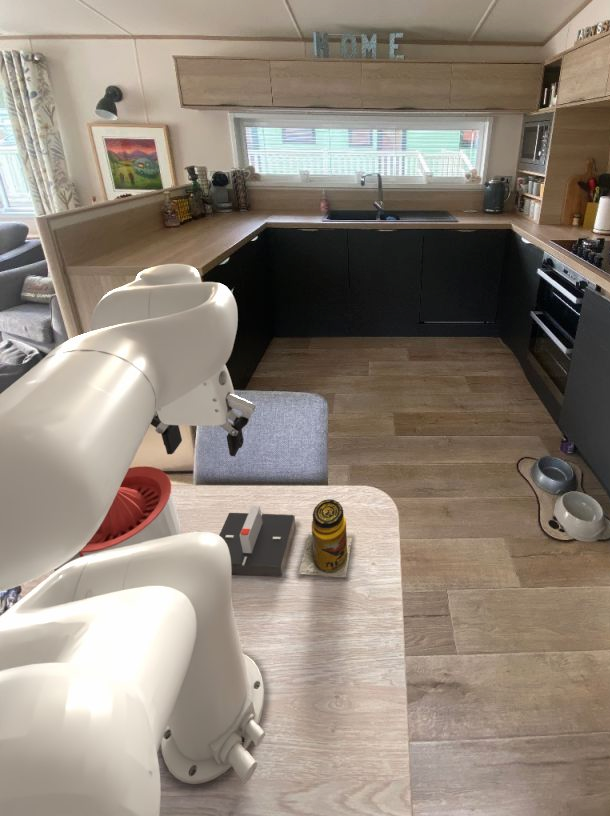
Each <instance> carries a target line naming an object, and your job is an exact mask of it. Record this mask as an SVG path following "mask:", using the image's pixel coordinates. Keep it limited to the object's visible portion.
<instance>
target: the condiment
mask: <svg viewBox="0 0 610 816" xmlns="http://www.w3.org/2000/svg"><path fill="white" fill-rule="evenodd" d="M352 541H353V538H352V537H347V519H346V517H345V515H344V508H343V505H342V504H341V503H340V502H339V501H338V500H335V499H333V498H332V499H329V498H327V499H323V500H321V501H320V502H319V503H318V504H316V505H315V506H314V509H313V510H312V521H311V534H308V536H307V540H306V544H305V548H304V551H303V556H302V560H301V563H300V567H299V571H298V575H311V576H321V577H330V578H331V577H334V578H347V574H348V568H349V560H350V554H351V547H352Z"/></svg>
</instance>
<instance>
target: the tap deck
mask: <svg viewBox="0 0 610 816" xmlns="http://www.w3.org/2000/svg"><path fill="white" fill-rule="evenodd" d="M248 514H249V512H247V513H246V512H229V513H228V514H227V517H226V519H225V521H224V523H223V526H222V527H221V530H220V532H219V534H218V535H219V536H220V537H222V538H223V539H224V541H225V542H226V544H227V546H228V549H229V553H230V557H231V570H232V572H231V576H240V577H241V576H243V577H244V576H246V577H265V578H266V577H268V578H270V577H272V578H282V577H283V575H284V572H285V569H286V564H287V560H288V557H289V552H290V548H291V545H292V541H293V537H294V533H295V529H296V526H297V525H296V517H295V514H284V513H283V514H280V513H264V512H261V516H262V522H263V523H262V526H261V529H260V531H259V534H258V537H257V540H256V543H255V545H254V548H253V551H252V553H243V551H242V546H241V541H240V533H241V531H242V528H243V526H244V523H245V521H246V519H247V516H248Z"/></svg>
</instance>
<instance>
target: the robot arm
mask: <svg viewBox="0 0 610 816" xmlns="http://www.w3.org/2000/svg"><path fill="white" fill-rule="evenodd" d="M201 278H202V277H201V274H200V272H199V271H198V270H197V269H196V268H195V267H194V266H192V265H189V264H183V263H167V264H160V265H155V266H152V267H149V268H146V269H144V270H141V271H140V272H139V273H138V274H137V276H136V277H135V280H134V281H131V282H129V283H127V284H124V285H122V286H119V287H118V288H115V289H113V290H111V291H109V292H107V294H105V295H104V296H103V297H102V298H101V299H100V300H99V301H98V302H97V304H96V305H95V307H94V308H93V311H92V314H91V318H90V331H89V332H87V333H83V334H80V335H77V336H75V337H73V338H70V339H68V340H66V341H64V342H63V343H61V344H59V345H58V346H57V347H55V348H53V350H51V351H50V352H49V353H47V354H46V355H45V356H44V357H43V358H42V359H41V360H40V361H38V362H37V363H36V364H35V365H34V366H32V367H31V368H30V369H29V370H28V371H27V372H26V373H24V374H23V375H22V376H21V377H19V378H18V379H17V380H16V381H14V382H13V383H12V384H11V385H10V386H8V387H7V388H6V389H4V390H3V391H2V392H1V393H0V593H1V592H4V591H8V590H11V589H14V588H17V587H20V586H22V585H25V584H27V583H31V582H33V581H35V580H37V579H39V578H41V577H44V576H45V575H47V574H50V573H51V572H52V571H53V572H52V573H51V574H50V575H48V576H47V577H46V578H45V579H44V580H42V581H41V582H40V583H38V585H36V586H35V587H33V588H32V589H31V590H30V591H29V592H28V593H26V594H25V595H23V597H22V598H20V599H19V600H18V601H17V602H15V603H14V604H13V605H11V606H10V607H9V608H8V609H6V611H4V612H3V613H1V615H0V816H160V813H161V797H162V795H161V794H162V793H161V791H162V790H161V788H162V787H161V771H160V764H159V763H160V762H159V757H158V752H159V749H160V747H161V755H162V757H163V760H164V764H165V766H166V767H167V769H168V771H169V772H170V773H171V775H173V777H174V778H175V779H177V780H179V781H181V782H182V783H185V784H191V785H196V784H197V785H198V784H204V783H207V782H210V781H212V780H213V781H214V780H215V779H217V778H218V777H220V776H222V775H224V774H225V773H226V772H227V771H229V769H230V768H233V771H234V773H235V774H236V775H237V777H238V778H239V779H240V780H241V782H242V783H243V784H247V783H248V782H249V781H250V780H251V778H252V776H253V775H254V773H255V771H256V768H257V767H258V762H257V761H256V759H255V757H253V756H252V754H251V753H250V752H249V750H247V749H248V748H249V746H250V744H251V743H253V745H255V746H256V747H259V745H261V743H262V742H263V740H264V738H265V736H266V732H265V731H264V730H263V728H262V727H261V726H260V722H261V719H262V715H263V709H264V706H265V689H264V687H265V686H264V681H263V677H262V673H261V670H260V669H259V667H258V665H257V664H256V663H255V661H254V660H253V659H252V658H251V657H249V656H248V655H247V654H244V651H243V646H242V641H241V638H240V632H239V628H238V625H237V621H236V617H235V612H234V607H233V606H234V605H233V599H232V575H231V572H232V570H231V557H230V553H229V549H228V546H227V544H226V542H225V541H224V539H223V538H222V537H220V536H219V534H217V533H214V532H210V531H191V532H183V533H181V534H178V535H173V536H168V537H164V538H159V539H154V540H150V541H145V542H142V543H139V544H134V545H130V546H125V547H121V548H116V549H111V550H107V551H102V552H98V553H94V554H90V555H86V556H83V557H80V558H77V559H75V560H73V561H71V562H69V563H67V564H65V565H64V566H62V567H61V568H59V569H58V570H56V571H54V569H56V568H58V567H59V566H61V565H62V564H64V563H65V562H67V561H68V560H70V559H71V558H72V557H74V556H75V555H76V554H77V553H78V552H79V551H80V550H82V549H83V547H84V546H85V545H86V544H87V543H88V542H89V541H90V540H91V538H92V537H93V536H94V534H95V533H96V531H97V530H98V528H99V527H100V525H101V524H102V522H103V520H104V518H105V516H106V515H107V513H108V511H109V509H110V507H111V505H112V503H113V501H114V498H115V496H116V494H117V492H118V490H119V488H120V486H121V483H122V481H123V479H124V477H125V475H126V473H127V471H128V469H129V468H131V465H132V463H133V461H134V459H135V457H136V455H137V453H138V451H139V448H140V447H141V445H142V443H143V440H144V438H145V436H146V434H147V432H148V430H149V427H150V425H151V426H152V427H154V428H155V432H156V433H157V434H161V438H162V442H163V445H164V447H165V451H166V454H167V455H173V454H174V453H175V452H176V450H177V449H178V447H179V446H180V445H181V443H182V442H183V437H182V434H181V430H180V426H183V427H184V426H185V427H186V426H188V427H218V426H219V427H221V428H222V429H223V430H224V431H225V432H227V435H226V442H227V447H228V453H229V456H230V457H236V456H237V453H238V451H239V449H241V448H242V447H243V444H244V433H243V429H244V428H245V427H246V426H247V425H248V423H249V421H250V419H251V417H252V416H253V413H254V411H255V409H256V404H255V403H253V402H251V401H248V400H246V399H245V398H241V397H239V396H238V395H236V392H235V390H234V386H233V382H232V379H231V376H230V372H229V370H228V368H227V365H226V364H227V362H228V361H229V359H230V357H231V355H232V353H233V349H234V344H235V340H236V335H237V331H238V322H239V318H238V317H239V316H238V315H239V314H238V305H237V302H236V298H235V296H234V295H233V292H232V291H231V290H230V289H229V288H228V286H226V285H224V284H222V283H220V282H215V281H202V279H201ZM234 410H236V411H239V412H240V413H241V415H239V414H238V413H237V412H236V411H234ZM229 420H230V421H229ZM194 772H195V773H194ZM193 773H194V774H193Z"/></svg>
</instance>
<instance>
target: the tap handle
mask: <svg viewBox="0 0 610 816" xmlns="http://www.w3.org/2000/svg"><path fill="white" fill-rule="evenodd" d="M248 513H249V514H248V516H247V519H246V521H245V523H244V526H243V528H242V531H241V533H240V541H241V546H242V551H243V553H252V551H253V548H254V545H255V543H256V540H257V537H258V534H259V531H260V529H261V526H262V523H263V522H262V516H261V513H262V510H261V505H251V506H250V509H249V511H248Z"/></svg>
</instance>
